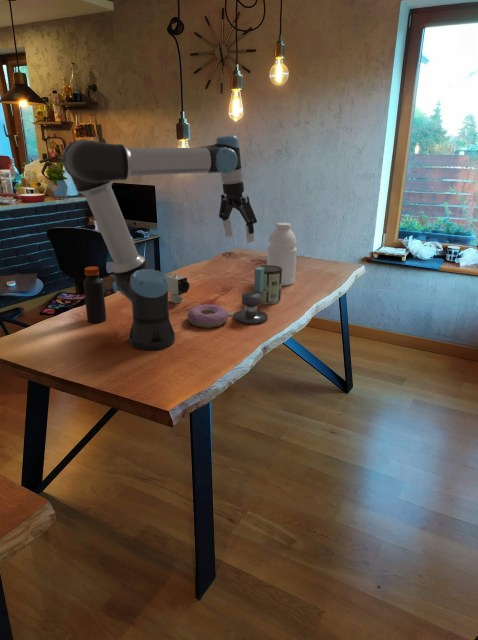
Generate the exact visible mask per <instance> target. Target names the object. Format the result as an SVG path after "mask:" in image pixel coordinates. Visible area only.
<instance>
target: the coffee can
mask: <svg viewBox="0 0 478 640" xmlns="http://www.w3.org/2000/svg"><path fill="white" fill-rule="evenodd" d="M259 267H264V290H263V294H262V296H261V299H260V304H264V305H272V304H273V305H277V304H279V303H280V302H282V301H281V300H282V299H281V297H282V286H281V279H282V268H281V267H279V266H273V265H267V264H266V265H260V266H259Z"/></svg>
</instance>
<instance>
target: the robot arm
mask: <svg viewBox="0 0 478 640" xmlns="http://www.w3.org/2000/svg"><path fill="white" fill-rule="evenodd" d="M240 150H241V147H240V143H239V139H238V137H237V135H235V134H229V135H222V136H218V137H217V138H216V143H215V144H212V145H203V146H199V147H136V148H135V147H134V148H133V147H127V146H125V145H124V144H122V143H121V144H120V143H119V144H113V143H106V142H100V141H96V140H90V139H89V140H88V139H82V138H81V139H78V140H77V139H75V140H74V141H72V142H70V143H69V144H68V145H67V146H65V149H64V150H63V153H62V164H63V165H62V166H63V168H64V169H65V171H66V173H67V174H68V176H70V177H71V180H72V182H73V185H74V187H75V189H76V190H77V193H79V194H81V195H83V196H85V199H86V201H87V204H88V206H89V209H90V211H91V213H92V216H93V218H94V221H95V223H96V225H97V227H98V229H99V232H100V234H101V236H102V238H103V241H104V243H105V245H106V247H107V250H108V253H109V255H110V257H111V259H112V262H113V266H112V268H111V271H112V273H113V276H114V278H115V279H114V280H115V285H116V287H117V289H118V291H119V292H120V293H121V294H122V295H123V296H124V297H125V298H126V299H127V300H129V301H130V302H131V306H132V307H131V308H132V309H131V310H132V323H131V324H132V325H131V328H130V331H129V335H128V338H129V340H128V341H129V345H130V346H131V347H133V348H134V349H137V350H143V351H158V350H162V349H166V348H168V347H171V346H172V345H173V344H175V342H176V334H175V331H174V329H173V326H172V323H171V320H170V315H169V313H170V312H169V308H170V307H169V292H168V283H167V277H166V274H165V273H163V272H162V271H160V270H155V269H151V268H149V266H148V263H147V261H146V258H145V257H144V256H142V255H140V254H139V252H138V250H137V248H136V244H135V242H134V241H133V238H132V235H131V233H130V231H129V228H128V225H127V223H126V220H125V218H124V216H123V215H124V214H123V213H122V211H121V208H120V205H119V203H118V200H117V197H116V195H115V193H114V189H113V188H112V186H113V184H114V181H125V180H126V181H127V180H128V179H129V177H132V176H133V177H134V176H135V177H138V176H159V175H160V176H161V175H164V176H165V175H184V174H185V175H186V174H213V173H216V174H218V173H219V174H220V178H221V183H222V191H223V193H222V194H221V195H220V198H221V199H220V208H219V214H218V218H220V219H221V220H222V222H223V227H224V232H225V233H224V235H225V238H230V237H232V236H233V231H232V221H231V218H230V217H231V213H232V211H233V209H235V210H237V211H239V213H240V215H241V217H242V218H243V220H244V222H245V225H244V226H245V232H246V233H245V234H246V241H247V243H248V244H250V243H253V242H254V241H255V234H254V233H255V229H254V225H255V224H256V223H258V220H257V218H256V215H255V212H254V210H253V208H252V205H251V202H250V197H249V196H248V195H246V196H243V192H244V191H245V186H244V181H243V180H244V179H243V171H242V159H241V152H240Z"/></svg>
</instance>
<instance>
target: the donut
mask: <svg viewBox="0 0 478 640" xmlns="http://www.w3.org/2000/svg"><path fill="white" fill-rule="evenodd" d="M228 312H229V311H227V310H226V309H225V308H224V307H223V306H220V305H217V304H200V305H195V306H193V307H191V308H190V309H189V310H188V312H187V321H188V322H189V323H191V325H193V326H195V327H198V328H206V329H210V328H218V327H220V326H221V325H223V324H225V323H227V321H228V318H229V316H228Z"/></svg>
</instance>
